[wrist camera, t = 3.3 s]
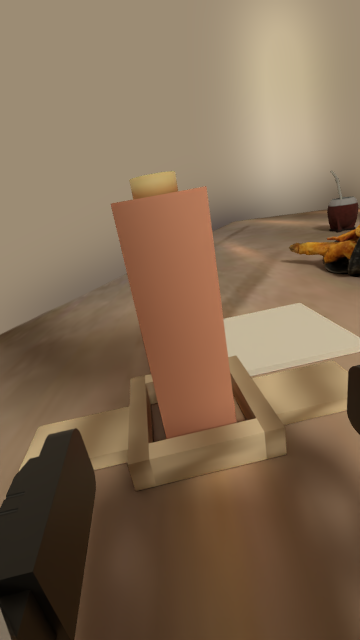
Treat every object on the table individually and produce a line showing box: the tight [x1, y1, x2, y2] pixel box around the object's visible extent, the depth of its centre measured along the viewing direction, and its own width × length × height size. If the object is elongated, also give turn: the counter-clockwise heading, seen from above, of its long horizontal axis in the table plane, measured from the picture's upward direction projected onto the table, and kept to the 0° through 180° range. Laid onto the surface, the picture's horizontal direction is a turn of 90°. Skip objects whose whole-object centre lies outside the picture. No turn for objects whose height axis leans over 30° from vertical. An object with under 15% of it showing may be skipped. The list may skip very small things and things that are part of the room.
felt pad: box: [223, 303, 360, 376], centre depth 31 cm, size 12×12×1 cm
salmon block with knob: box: [111, 171, 237, 439], centre depth 19 cm, size 4×4×16 cm
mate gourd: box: [327, 171, 358, 232], centre depth 79 cm, size 8×8×15 cm
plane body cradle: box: [19, 356, 348, 491], centre depth 21 cm, size 23×9×2 cm, turn 98°
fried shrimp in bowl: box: [289, 225, 360, 275], centre depth 47 cm, size 9×11×18 cm
